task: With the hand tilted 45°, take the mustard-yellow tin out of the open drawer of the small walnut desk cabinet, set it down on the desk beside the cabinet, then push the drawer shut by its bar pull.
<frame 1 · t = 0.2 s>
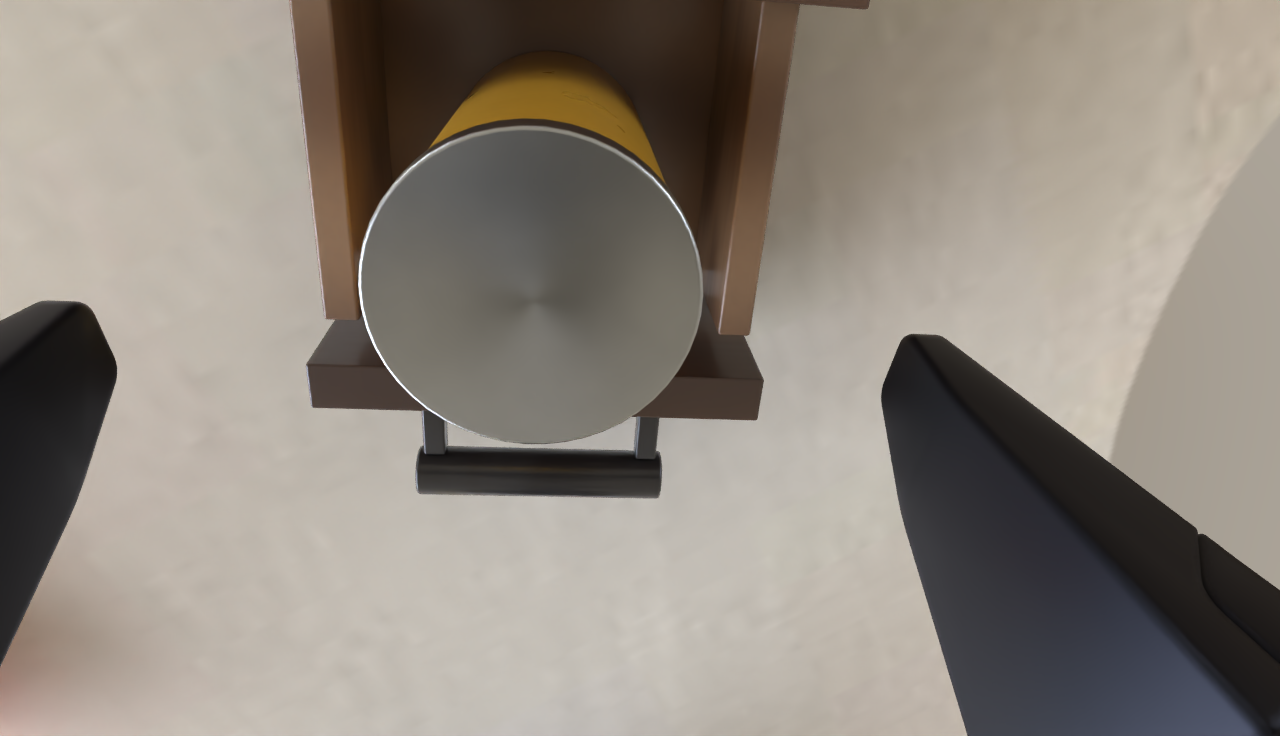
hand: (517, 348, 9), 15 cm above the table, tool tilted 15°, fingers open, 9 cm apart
drawer: (547, 221, 20), point 4 cm above the table, slide at 8.5 cm, touching tin
tin: (551, 150, 21), point 2 cm above the table, touching drawer
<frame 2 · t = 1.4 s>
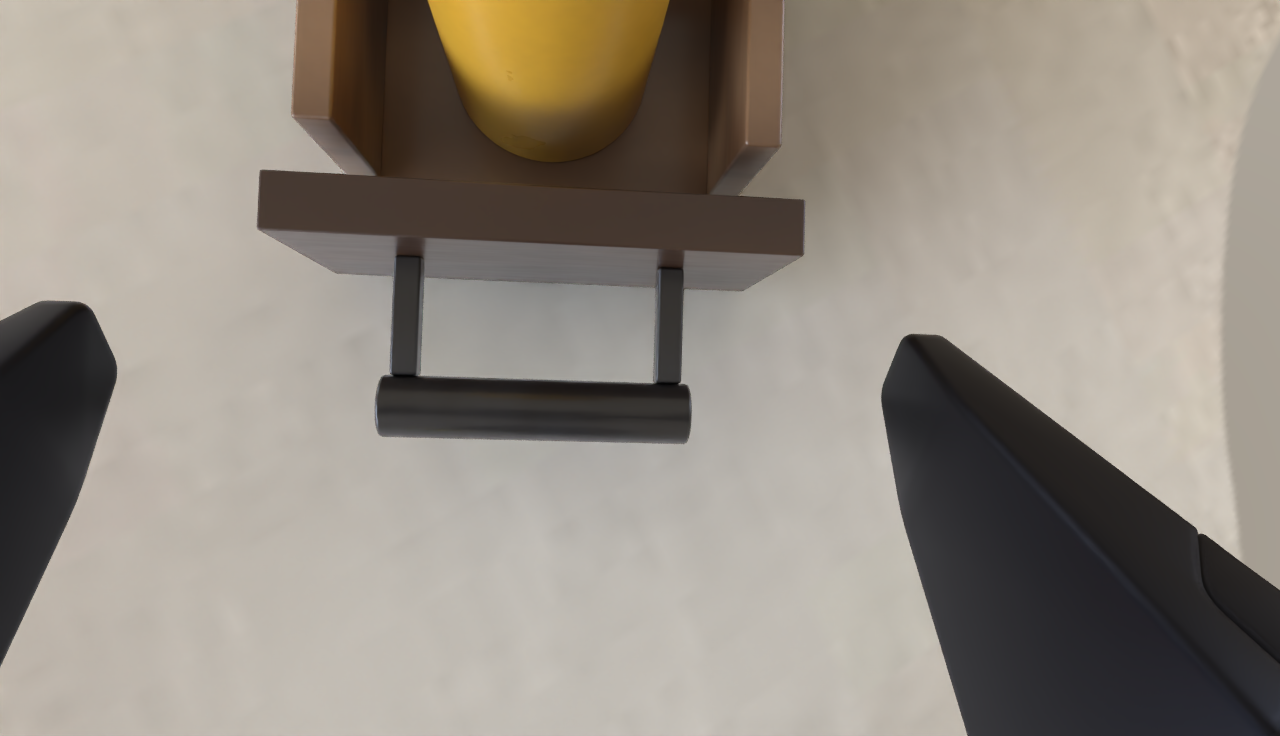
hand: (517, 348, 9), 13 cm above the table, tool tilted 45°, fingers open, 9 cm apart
drawer: (548, 95, 19), point 4 cm above the table, slide at 8.5 cm, touching tin
tin: (551, 68, 21), point 2 cm above the table, touching drawer
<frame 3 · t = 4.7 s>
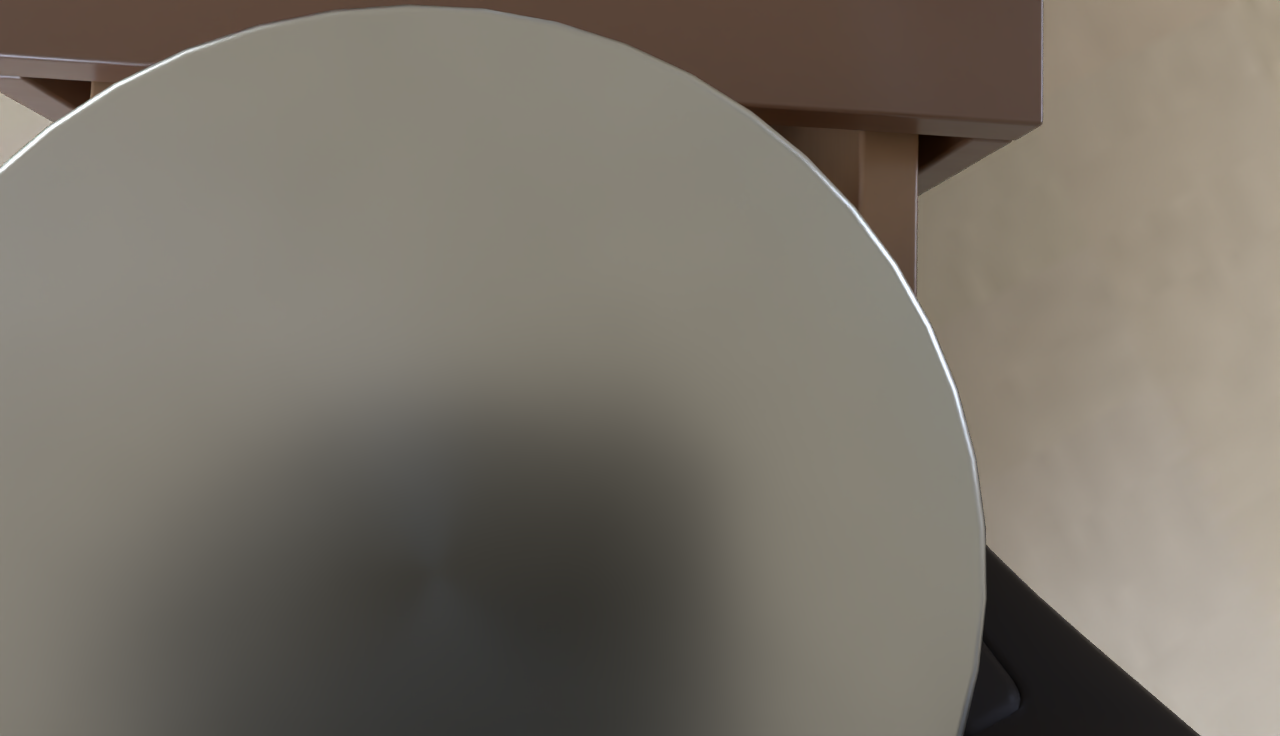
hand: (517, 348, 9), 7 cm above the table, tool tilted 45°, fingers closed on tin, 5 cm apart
drawer: (519, 546, 12), point 4 cm above the table, slide at 8.5 cm, touching tin
tin: (527, 447, 14), point 2 cm above the table, touching drawer, gripper
when the fingers open (5 cm above the table, at t = 11.4 s): tin stays where it is, on the table.
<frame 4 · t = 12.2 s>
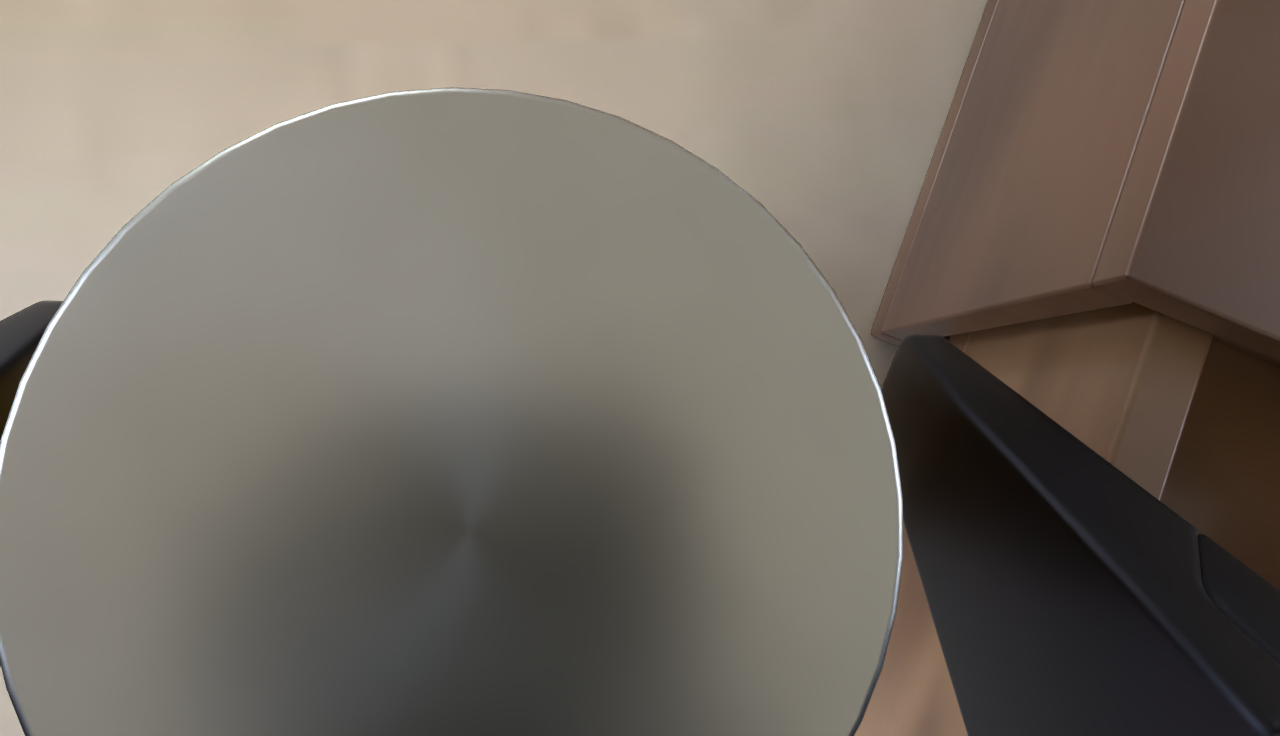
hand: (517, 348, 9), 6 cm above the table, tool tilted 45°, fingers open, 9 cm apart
cabinet: (1237, 146, 17), on the table
tin: (532, 443, 15), on the table
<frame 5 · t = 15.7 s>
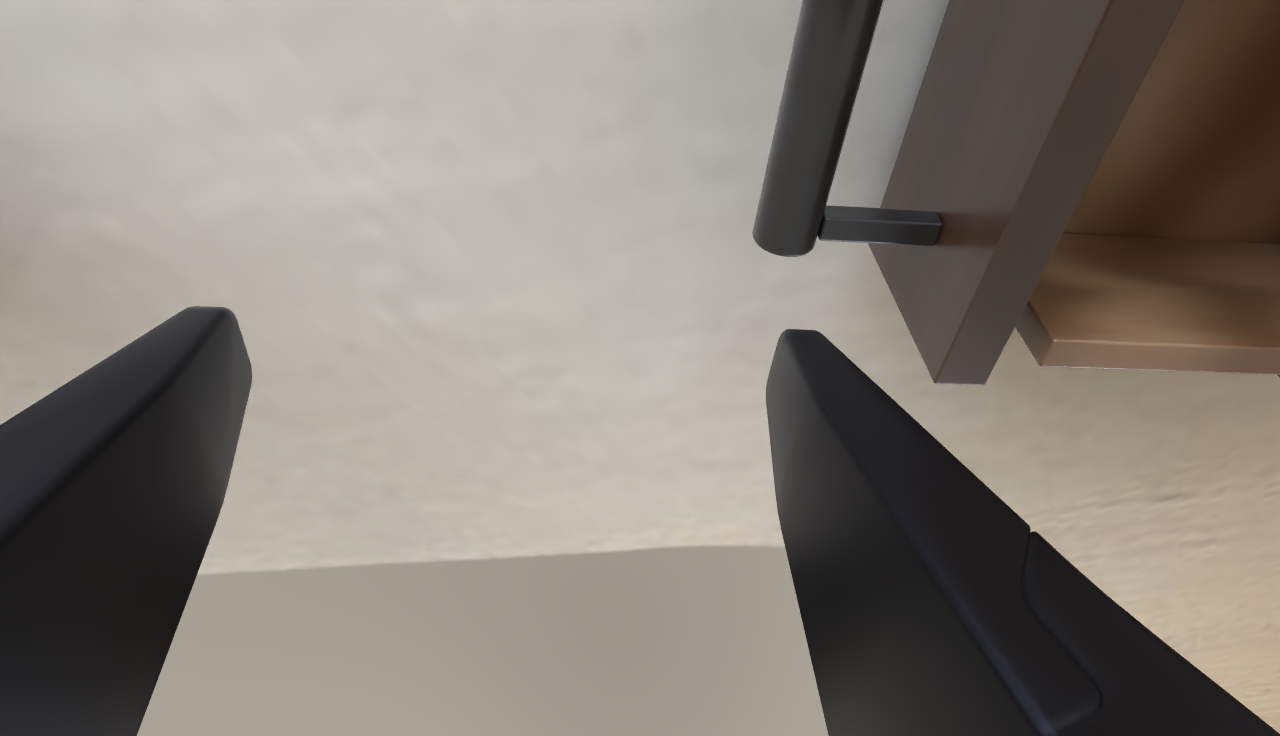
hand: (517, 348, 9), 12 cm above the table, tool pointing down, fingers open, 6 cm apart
drawer: (1167, 105, 17), point 4 cm above the table, slide at 8.5 cm
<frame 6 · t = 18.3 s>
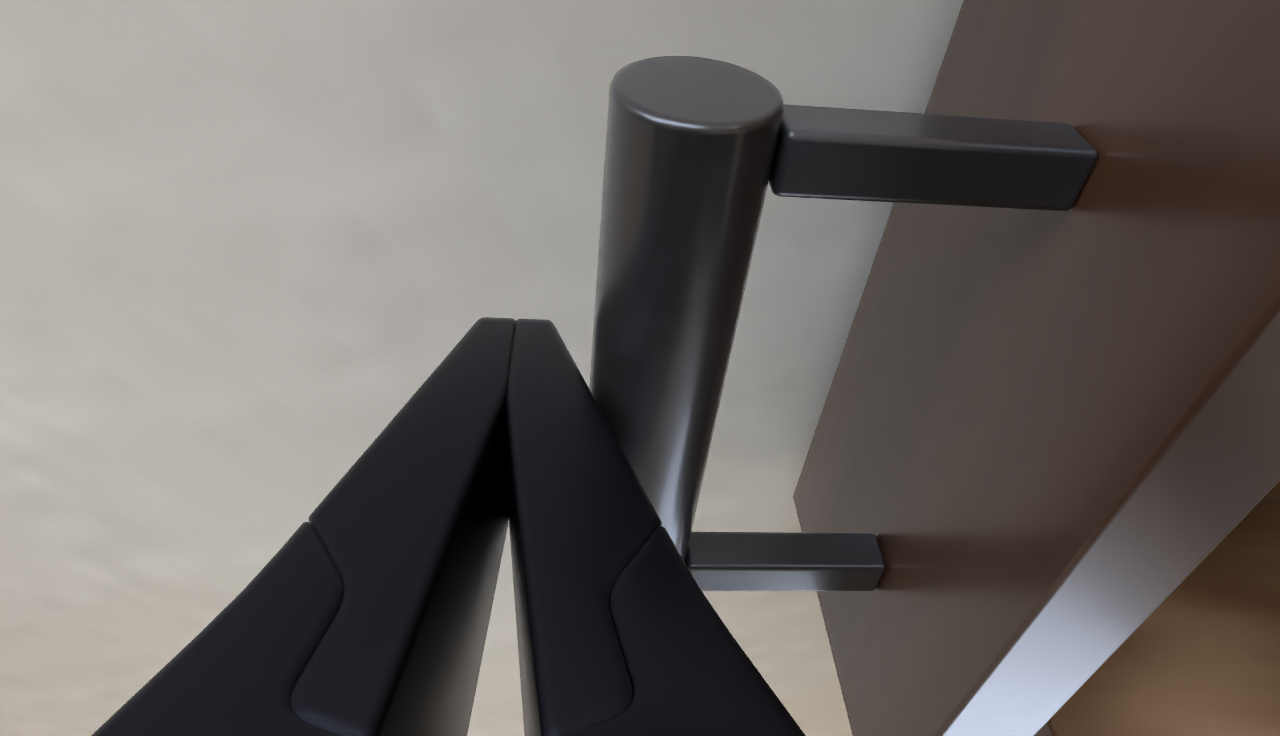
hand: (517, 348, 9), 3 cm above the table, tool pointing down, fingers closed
drawer: (1264, 395, 10), point 4 cm above the table, slide at 7.9 cm, touching gripper
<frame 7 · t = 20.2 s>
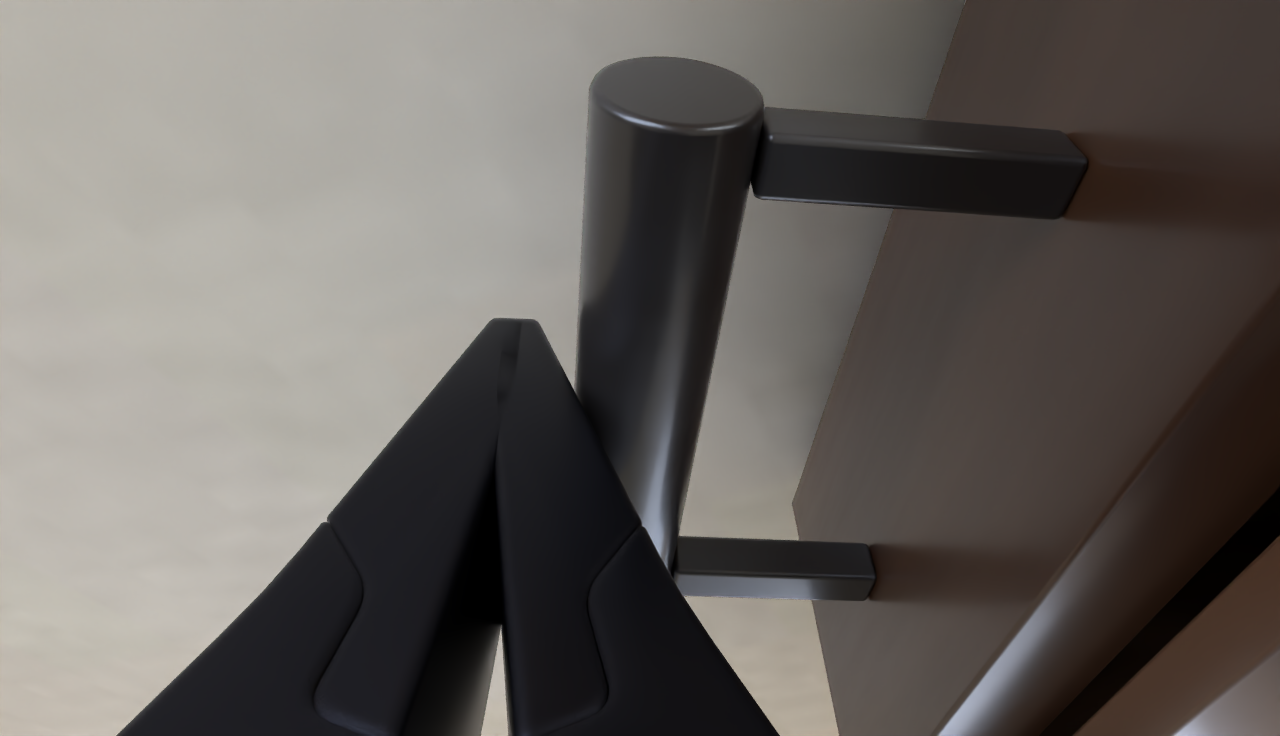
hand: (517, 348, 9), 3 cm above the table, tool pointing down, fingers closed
drawer: (1269, 413, 9), point 4 cm above the table, slide at 0.0 cm, touching cabinet, gripper
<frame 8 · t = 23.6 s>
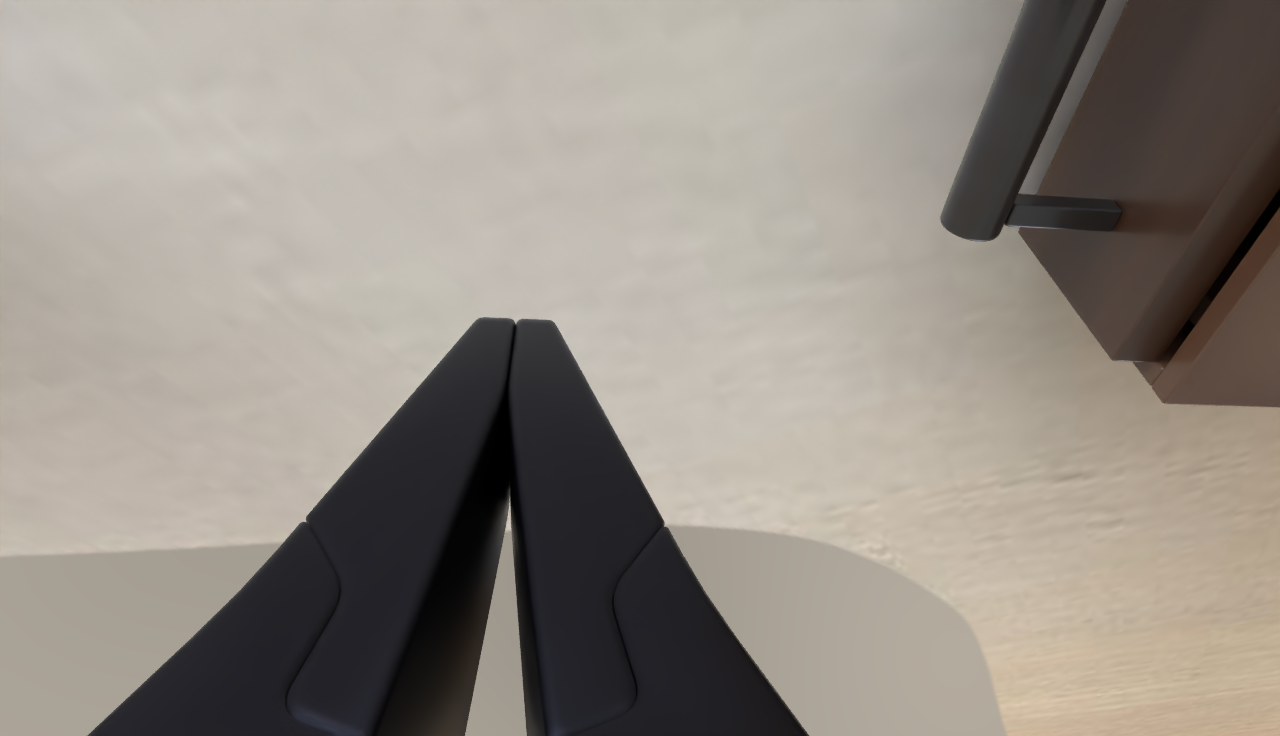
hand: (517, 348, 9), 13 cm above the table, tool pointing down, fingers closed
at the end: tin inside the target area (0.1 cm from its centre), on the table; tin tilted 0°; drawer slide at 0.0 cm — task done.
